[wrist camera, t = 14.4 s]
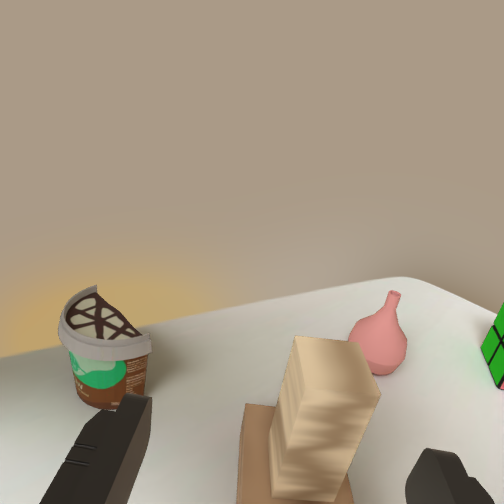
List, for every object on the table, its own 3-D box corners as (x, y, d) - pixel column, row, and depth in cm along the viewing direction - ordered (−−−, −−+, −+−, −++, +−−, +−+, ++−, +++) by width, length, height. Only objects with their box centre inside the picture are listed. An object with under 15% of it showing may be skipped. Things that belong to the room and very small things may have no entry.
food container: (46, 370, 42) (36, 298, 38) (97, 349, 46) (94, 282, 42) (95, 442, 35) (90, 363, 31) (150, 409, 39) (152, 335, 35)
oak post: (271, 498, 28) (305, 387, 23) (267, 439, 32) (295, 335, 27) (333, 502, 28) (381, 394, 23) (321, 443, 33) (358, 342, 27)
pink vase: (368, 391, 46) (396, 314, 41) (331, 353, 52) (352, 282, 47) (409, 377, 50) (439, 305, 45) (370, 343, 56) (393, 276, 51)
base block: (230, 594, 26) (239, 556, 24) (239, 437, 38) (245, 403, 36) (350, 605, 27) (369, 569, 24) (322, 446, 38) (333, 413, 36)
